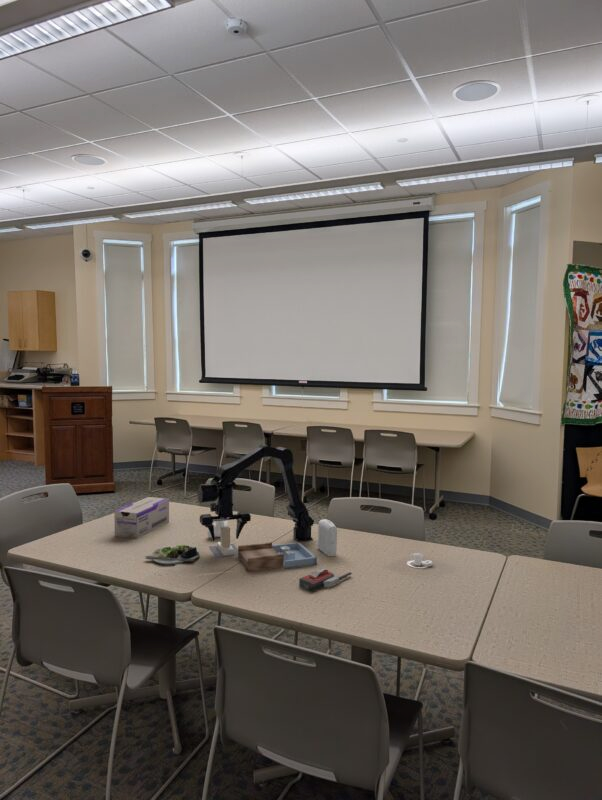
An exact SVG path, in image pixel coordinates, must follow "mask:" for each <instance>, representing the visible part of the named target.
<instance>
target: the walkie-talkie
mask: <svg viewBox="0 0 602 800" xmlns="http://www.w3.org/2000/svg"><path fill="white" fill-rule="evenodd" d="M352 574H353V573H352V572H351V571H350V572H347V573H345V574H343V575H341V576H338V577H337V576H335V574H334V573H333V572H330V571H329V570H328V569H326V568H324V567H321V568H319V569H316V570H314V571H313V572H312V573H309V574H307V575H305V576H303V577H300V578H299V579H298V580H299V585H298V587H299V588H302V589H304V590H307V591H310V592H316V591H318V590H319V589H320V590H321V588H333V587H334V586H337V585H339V584H340V581H341V580H344V579H346V578H347V577H349V576H350V575H352Z"/></svg>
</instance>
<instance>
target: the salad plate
mask: <svg viewBox="0 0 602 800" xmlns="http://www.w3.org/2000/svg"><path fill="white" fill-rule="evenodd" d="M199 558H200V553H199V551H198V548H197V546H193V545H186V544H180V545H176V546H168V547H167V546H165V547H161V548H157V549H155V550H153V552H152V556H151V555H147V556H145V559H146V560H150V561H153V562H155V563H158V564H160V565H167V566H171V565H176V564H188V563H192V562H195V561H197V560H199Z"/></svg>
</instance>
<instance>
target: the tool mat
mask: <svg viewBox="0 0 602 800" xmlns="http://www.w3.org/2000/svg"><path fill="white" fill-rule="evenodd" d="M230 545H231V546H232V548H233V549H234V554H233V555H224V556H223V555H222V553H221V552H220V550H219V549H218V548H217V545H211V546H208V548H209V550H210V551H211V553H212V554H213V555H214V557H215V558H216V559H219V558H225V557H226V558H227V557H229V558H230V557H235V556H237V557H238V547H237V546H236V545H235V543H232V544H231V543H230Z"/></svg>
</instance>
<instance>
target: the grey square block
mask: <svg viewBox="0 0 602 800" xmlns="http://www.w3.org/2000/svg"><path fill="white" fill-rule="evenodd" d="M293 559H295V553H294V552H293V551H285V560H293Z"/></svg>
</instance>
